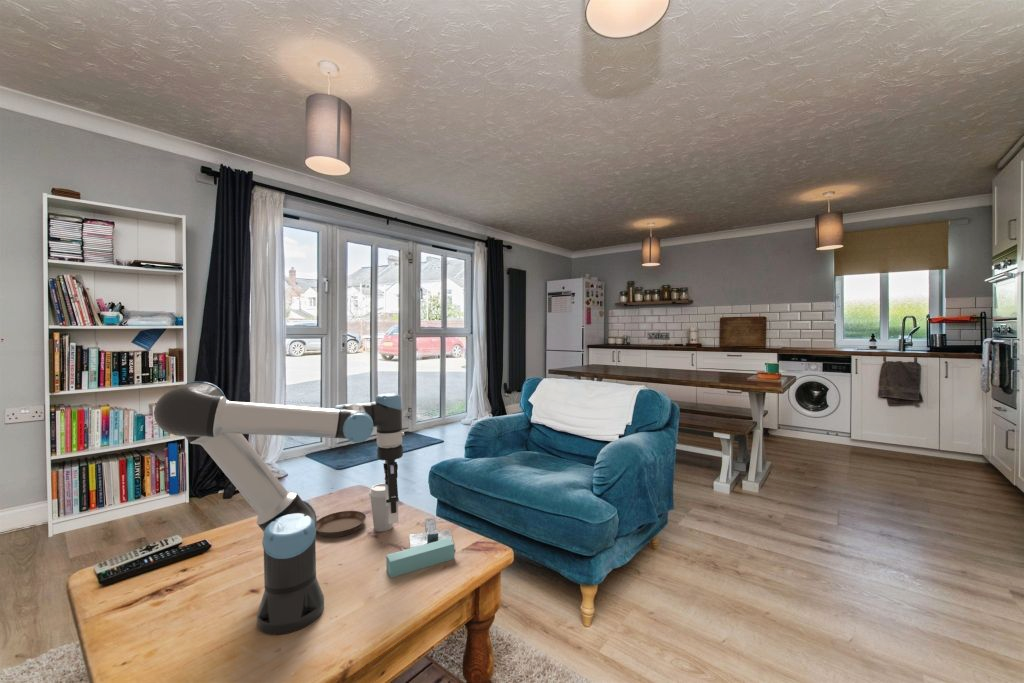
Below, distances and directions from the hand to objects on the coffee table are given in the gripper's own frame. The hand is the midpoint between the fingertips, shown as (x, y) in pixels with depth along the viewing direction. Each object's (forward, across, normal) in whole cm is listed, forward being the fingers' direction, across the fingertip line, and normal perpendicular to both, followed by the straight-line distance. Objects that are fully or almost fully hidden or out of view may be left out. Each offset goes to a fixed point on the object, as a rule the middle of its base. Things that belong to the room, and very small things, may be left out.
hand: (391, 513), depth 133 cm
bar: (+16, -3, -8) cm, 18 cm away
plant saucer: (+16, +32, +16) cm, 39 cm away
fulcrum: (+16, +8, -13) cm, 22 cm away
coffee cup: (+16, +27, +2) cm, 31 cm away
